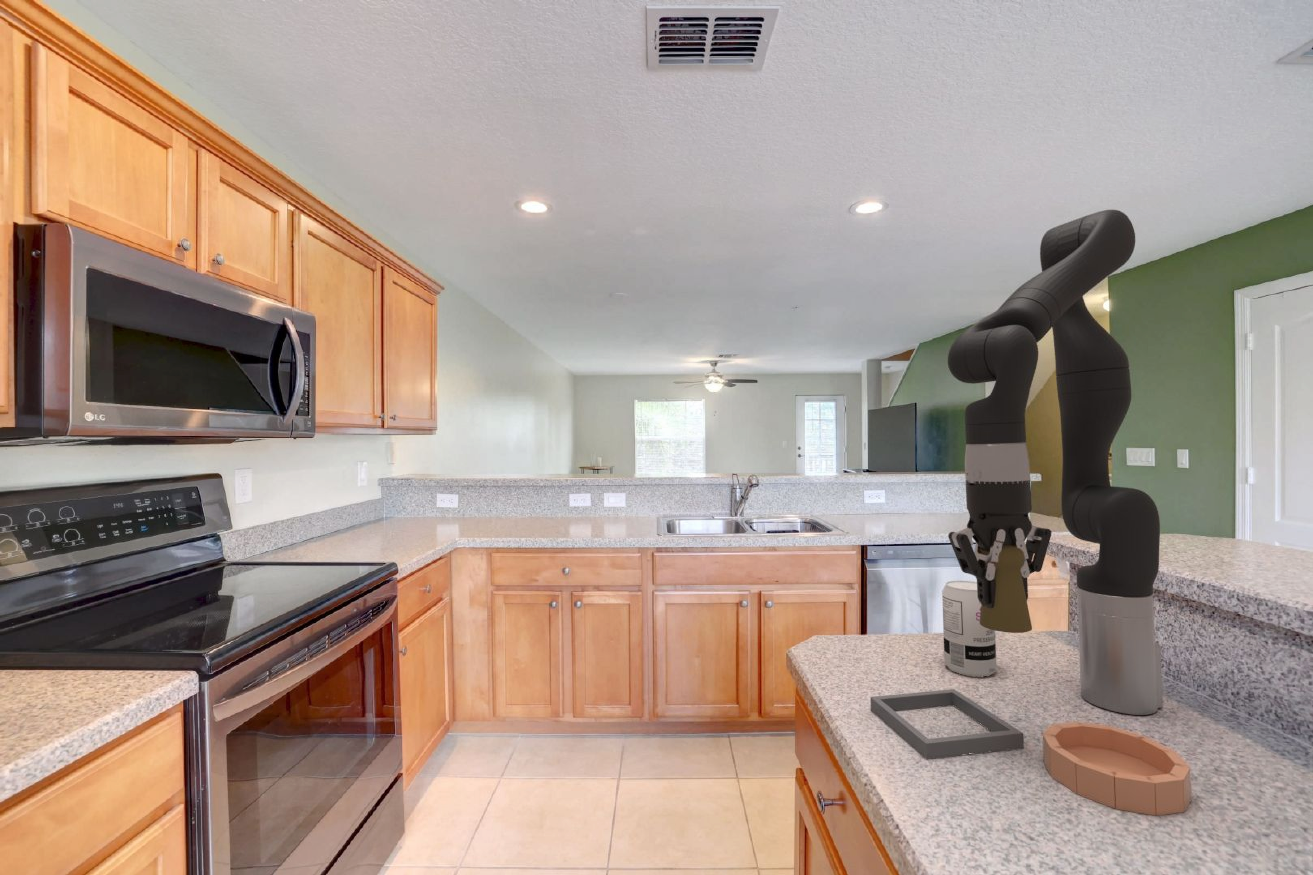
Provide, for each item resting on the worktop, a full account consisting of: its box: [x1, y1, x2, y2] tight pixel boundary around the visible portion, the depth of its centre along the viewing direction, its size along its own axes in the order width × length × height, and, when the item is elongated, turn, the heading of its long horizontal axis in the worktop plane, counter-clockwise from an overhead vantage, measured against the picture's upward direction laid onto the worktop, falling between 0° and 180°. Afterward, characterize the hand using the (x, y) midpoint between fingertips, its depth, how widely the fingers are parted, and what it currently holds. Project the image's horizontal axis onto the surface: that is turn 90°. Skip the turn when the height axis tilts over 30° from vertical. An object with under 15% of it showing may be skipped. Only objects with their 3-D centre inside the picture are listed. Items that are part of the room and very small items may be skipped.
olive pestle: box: [979, 545, 1033, 634], centre depth 77 cm, size 6×6×11 cm
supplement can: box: [941, 580, 998, 678], centre depth 102 cm, size 8×8×15 cm
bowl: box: [1042, 721, 1192, 817], centre depth 69 cm, size 13×13×4 cm
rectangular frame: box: [870, 688, 1025, 760], centre depth 82 cm, size 14×14×2 cm
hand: (1002, 604), depth 77 cm, fingers closed on olive pestle, 3 cm apart
